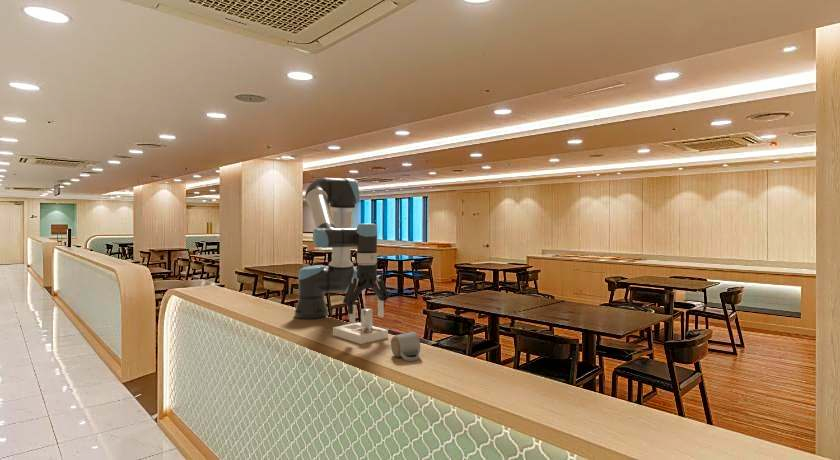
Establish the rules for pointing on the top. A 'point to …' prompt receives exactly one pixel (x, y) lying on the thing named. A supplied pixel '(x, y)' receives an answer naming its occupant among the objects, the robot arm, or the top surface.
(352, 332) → the pin board
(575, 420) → the top surface
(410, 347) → the ceramic mug
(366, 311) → the pin
